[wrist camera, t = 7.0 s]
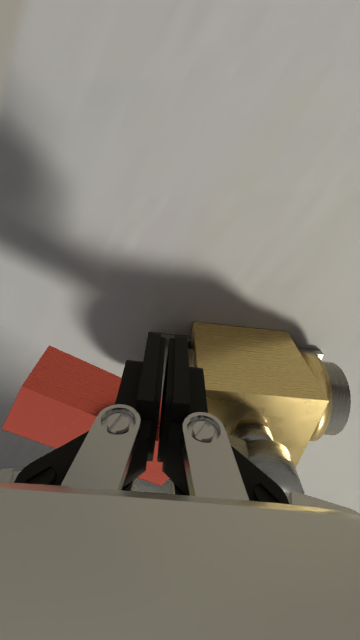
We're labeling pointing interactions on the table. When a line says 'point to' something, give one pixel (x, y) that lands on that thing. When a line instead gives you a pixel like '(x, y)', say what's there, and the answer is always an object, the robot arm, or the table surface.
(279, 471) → the lever
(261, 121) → the table surface
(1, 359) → the table surface
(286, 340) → the valve
